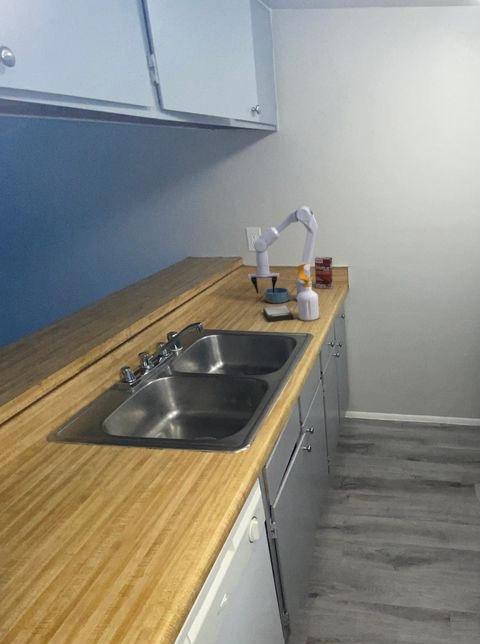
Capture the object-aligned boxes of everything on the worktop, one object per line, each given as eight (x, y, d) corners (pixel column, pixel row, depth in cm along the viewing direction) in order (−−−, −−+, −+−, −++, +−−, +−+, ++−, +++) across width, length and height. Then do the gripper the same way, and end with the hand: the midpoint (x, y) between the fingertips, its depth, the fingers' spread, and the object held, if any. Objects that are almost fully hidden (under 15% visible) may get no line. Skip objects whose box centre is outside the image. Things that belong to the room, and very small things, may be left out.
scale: (263, 313, 218) (263, 307, 216) (287, 310, 221) (286, 305, 220) (268, 322, 207) (268, 316, 206) (293, 319, 211) (292, 313, 209)
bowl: (264, 298, 238) (263, 288, 236) (286, 296, 242) (285, 286, 239) (268, 304, 229) (267, 294, 226) (291, 302, 232) (290, 292, 230)
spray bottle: (311, 322, 207) (307, 265, 195) (294, 318, 211) (290, 263, 199) (322, 316, 214) (320, 261, 202) (306, 313, 218) (303, 259, 206)
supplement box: (315, 288, 256) (314, 258, 248) (318, 285, 260) (316, 256, 252) (331, 288, 254) (330, 259, 247) (333, 286, 259) (332, 257, 251)
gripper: (246, 267, 221) (249, 295, 228) (278, 266, 224) (280, 294, 230) (247, 263, 228) (250, 291, 234) (278, 262, 230) (280, 290, 236)
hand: (265, 292), depth 232 cm, fingers open, 7 cm apart
